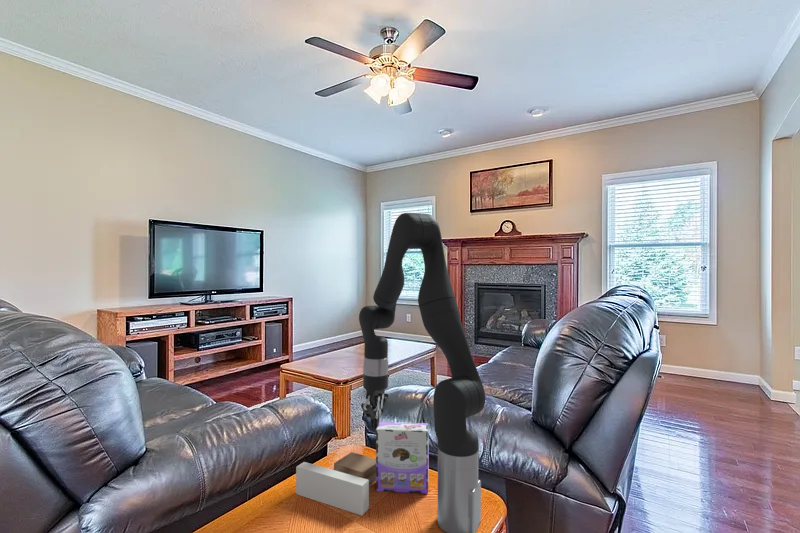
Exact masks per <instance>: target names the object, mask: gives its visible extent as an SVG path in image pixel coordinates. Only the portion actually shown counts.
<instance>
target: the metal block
mask: <svg viewBox="0 0 800 533" xmlns="http://www.w3.org/2000/svg"><path fill="white" fill-rule="evenodd" d="M333 470H335V471H339V472H343V473H346V474H350V475H353V476H357V477H360V478H364V479H368V480H369V487H370V486H372V485H373V484H374V483H376V458H373V457H371V456H367V455H363V454H360V453H356V452H353V451H351V452H350V453H348V454H346V455H345V456H343V457H342V458H340V459H338V460H337V461H335V462H334V463H333Z"/></svg>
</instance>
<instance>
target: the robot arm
mask: <svg viewBox="0 0 800 533" xmlns="http://www.w3.org/2000/svg"><path fill="white" fill-rule="evenodd" d="M442 237H443V236H442V233H441V228H440V225H439V223H438V221H437V219H436V218H435V216H434V215H432V214H429V213H420V212H419V213H417V212H403V213H400V215H398V216H397V218H396V219H395V221H394V224H393V227H392V231H391V234H390V239H389V243H388V248H387V251H386V257H385V262H384V266H383V269H382V273H381V277H380V279H379V281H378V283H377V286H376V288H375V290H374V294H373V295H372V296H373V297H372V298H373V302H374V303H375V304H376V305H366V306H363V307H362V308H361V309H360V312H359V315H358V322H359V325H360V329H361V333H362V337H363V338H362V339H363V344H364V352H363V353H364V354H363V355H364V358H363V365H362V366H363V367H362V369H363V370H362V372H363V373H362V376H363V377H362V388H363V389H364V390H366V394H365V402H364V403H363V402H362V403H361V405H360V407H361V409H362V411H363V413H364V415H365V417H366V418H369V419H370V422H369V423H370V430H371V431H373V432H376V429H377V427H378V424H379V422H380V417H381V415H382V414H384V411H385V407H386V405H387V403H388V399H389V393H386V392H385V390H387V389H388V387H389V359H388V358H389V357H388V356H389V353H388V350H389V347H388V346H389V343H388V342H389V341H388V338H386V337H384V336H379V335H377V334H376V332H375V330H383V329H389V328H390V327H391V326H392V325H393V324H394V322H395V316H396V307H397V302H398V300H399V298H400V296H401V294H402V291H403V289H404V286H405V273H404V270H403V261H404V260H403V259H404V257H405V255H406V253H407V252H408V251H409V250H418V249H419V250H420V251H421V254H422V258H423V263H424V272H423V273H424V274H423V277H422V281H421V282H420V287H419V291H418V295H417V304H418V307H419V308H418V309H419V311H420V316H421V320H422V325H423V326H424V329H425V331H426V332H427V333H428V335H429V336H430V338H431V339H432V340H433V341H434V343H435V344H436V345H437V347H439V349H440V350H441V351H442V353H443V355H444V356H445V359H446V361H447V364H448V366H449V371H450V374H451V375H450V376H451V377H449V378H446V379H444V380H441V381H439V382H438V384H437V385H436V387H435V388H434V392H433V420H434V421H433V422H434V424H433V425H434V426H433V427H434V435H435V436H436V439H437V513H436V514H437V525H438V526H439V528H440V529H441V530H442V531H443V532H444V533H476V532H477V530H478V528H479V527H480V524H481V522H482V519H481V518H482V517H481V516H482V480H481V479H479V437H478V436H477V434H476V433H475V432H473V431H471V430H468V429H467V419H468V418H470V417H473V416H475V415H479V413H481V412H482V411H483V410H484V408H485V405H486V393H485V389H484V385H483V382H482V380H481V376H480V374H479V371H478V369H477V366H476V362H475V361H474V357H473V355H472V352H471V350H470V346H469V343H468V339H467V336H466V333H465V329H464V327H463V323H462V318H461V315H460V311H459V306H458V303H457V300H456V296H455V292H454V290H453V286H452V282H451V279H450V278H451V277H450V275H449V270H448V266H447V262H446V255H445V251H444V245H443V239H442Z"/></svg>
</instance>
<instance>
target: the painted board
mask: <svg viewBox="0 0 800 533" xmlns="http://www.w3.org/2000/svg"><path fill="white" fill-rule="evenodd" d="M295 467H296V468H295V469H296V470H295V474H296V475H295V494H296V495H298V496H301V497H304V498H308V499H310V500H313V501H317V502H319V503H323V504H326V505H329V506H331V507H332V506H333V507H334V508H338V509H342V510H343V511H346V512H350V513H353V514H356V515H359V516H363V515H364V514H366V512H368V510H369V509H370V508H369V507H370V506H369V504H370V501H369V500H370V498H369V497H370V486H369V480H368V479H364V478H360V477H357V476H353V475H350V474H346V473H343V472H339V471H335V470H334V469H331V468H328V467H324V466H321V465H319V464H313V463H309V462H306V461H303V462H302V463H300V464H299V465H297V466H295Z"/></svg>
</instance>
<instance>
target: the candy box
mask: <svg viewBox="0 0 800 533" xmlns="http://www.w3.org/2000/svg"><path fill="white" fill-rule="evenodd" d="M375 440H376V441H375V459H376V481H375V491H377V492H388V493H408V494H409V493H410V494H429V471H430V470H429V464H430V463H429V461H430V460H429V459H430V458H429V456H430V454H429V453H430V452H429V423H427V422H423V423H422V422H399V421H398V422H397V421H396V422H395V421H379V424H378V427H377V429H376V431H375Z"/></svg>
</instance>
